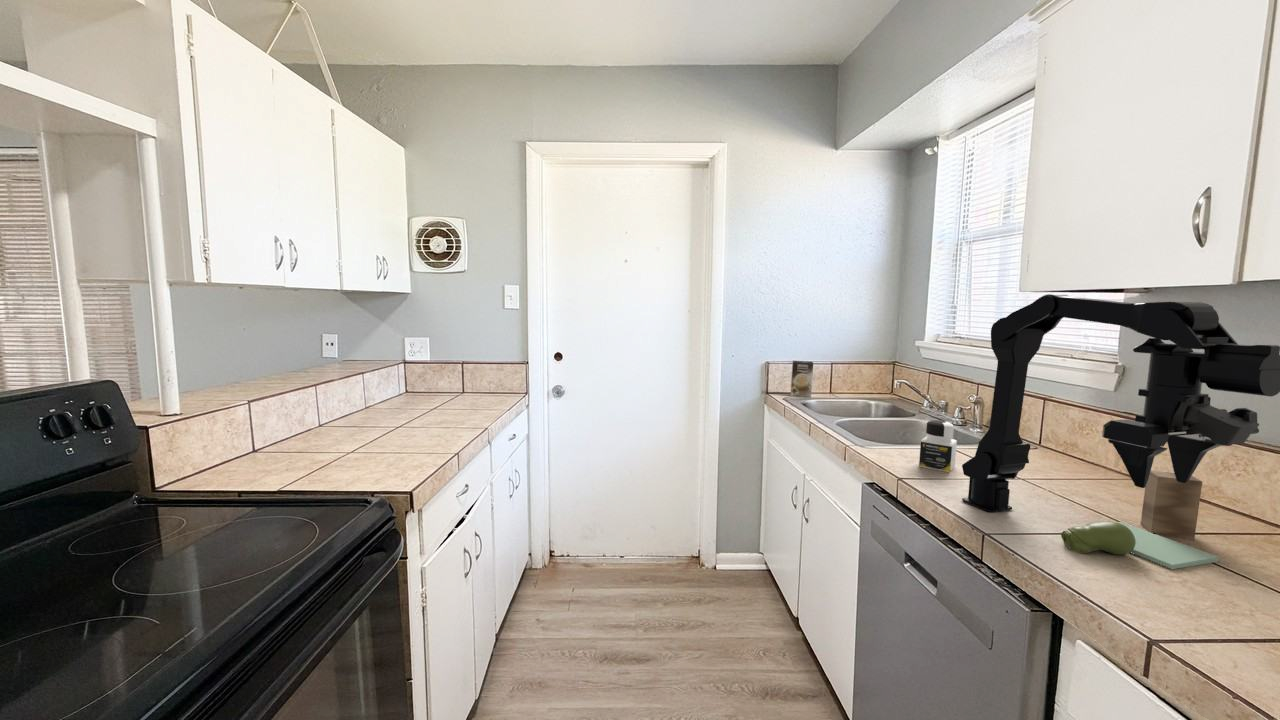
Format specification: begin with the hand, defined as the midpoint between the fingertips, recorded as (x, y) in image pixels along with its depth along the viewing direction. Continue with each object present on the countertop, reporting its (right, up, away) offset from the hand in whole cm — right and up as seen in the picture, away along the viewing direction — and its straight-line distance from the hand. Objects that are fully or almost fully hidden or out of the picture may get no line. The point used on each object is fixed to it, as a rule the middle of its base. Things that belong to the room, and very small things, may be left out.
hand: (1161, 484), depth 78 cm
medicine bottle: (-3, -9, +55) cm, 55 cm away
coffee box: (-6, +2, +156) cm, 156 cm away
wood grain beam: (+18, -13, +17) cm, 28 cm away
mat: (+9, -14, +11) cm, 20 cm away
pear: (-2, -14, +9) cm, 17 cm away
